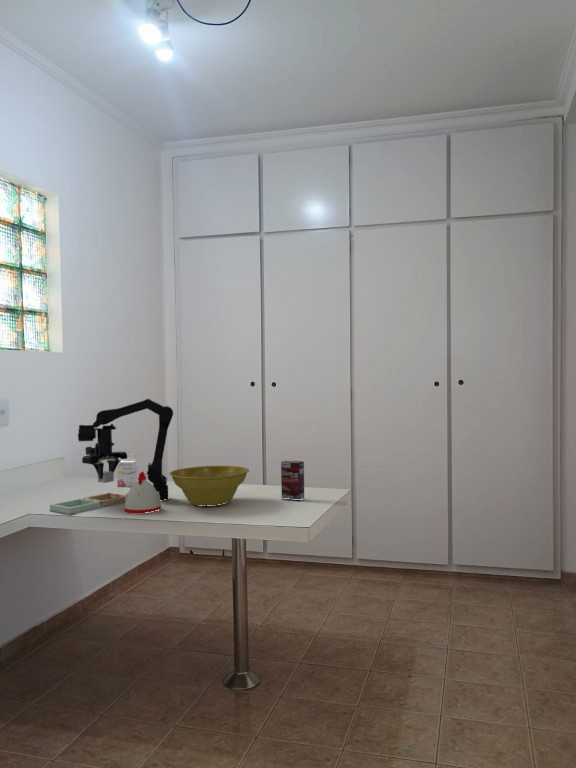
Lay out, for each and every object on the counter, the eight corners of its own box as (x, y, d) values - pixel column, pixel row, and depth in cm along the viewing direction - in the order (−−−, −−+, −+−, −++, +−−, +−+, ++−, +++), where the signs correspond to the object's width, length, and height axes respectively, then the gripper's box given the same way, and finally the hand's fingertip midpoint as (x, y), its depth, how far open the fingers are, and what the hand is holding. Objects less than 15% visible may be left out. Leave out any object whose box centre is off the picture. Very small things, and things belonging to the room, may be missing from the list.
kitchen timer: (120, 514, 252) (118, 475, 252) (130, 506, 266) (129, 469, 265) (156, 514, 251) (155, 474, 251) (164, 506, 265) (163, 469, 265)
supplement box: (281, 500, 273) (280, 461, 272) (286, 498, 277) (285, 460, 276) (299, 501, 269) (299, 462, 268) (305, 499, 273) (304, 461, 272)
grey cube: (113, 481, 274) (113, 471, 274) (104, 482, 271) (104, 473, 271) (106, 480, 277) (106, 470, 277) (97, 481, 273) (97, 472, 273)
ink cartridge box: (116, 486, 312) (116, 455, 311) (120, 484, 317) (119, 454, 316) (134, 486, 311) (133, 455, 311) (138, 484, 316) (137, 454, 315)
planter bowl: (164, 499, 278) (163, 467, 278) (238, 493, 289) (237, 462, 288) (177, 515, 248) (176, 479, 247) (259, 507, 258) (259, 473, 258)
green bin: (100, 508, 264) (100, 501, 264) (69, 514, 253) (69, 508, 253) (80, 504, 272) (80, 498, 272) (50, 510, 261) (49, 504, 260)
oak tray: (130, 501, 276) (130, 495, 276) (102, 507, 264) (102, 501, 264) (110, 498, 284) (110, 492, 283) (82, 504, 272) (82, 498, 272)
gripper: (111, 437, 286) (111, 473, 286) (73, 441, 271) (74, 479, 271) (127, 438, 279) (128, 475, 279) (90, 443, 264) (91, 482, 264)
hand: (105, 478), depth 274 cm, fingers closed on grey cube, 4 cm apart
